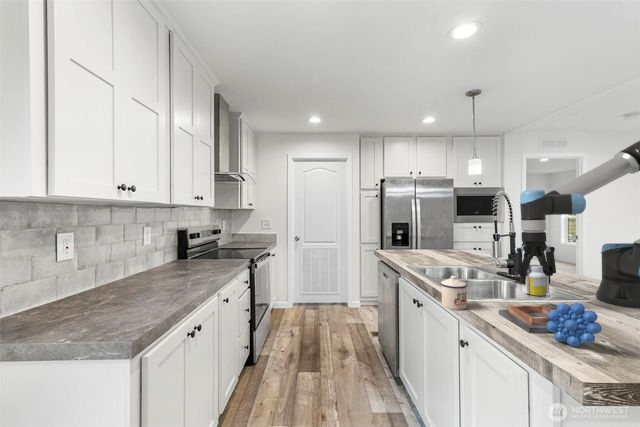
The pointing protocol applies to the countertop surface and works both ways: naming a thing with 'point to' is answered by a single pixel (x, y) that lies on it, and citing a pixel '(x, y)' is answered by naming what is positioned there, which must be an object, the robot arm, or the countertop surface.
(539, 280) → the pill bottle
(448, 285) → the teacup with lid
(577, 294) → the countertop surface
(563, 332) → the blue bumpy cluster
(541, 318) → the socket board
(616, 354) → the countertop surface
